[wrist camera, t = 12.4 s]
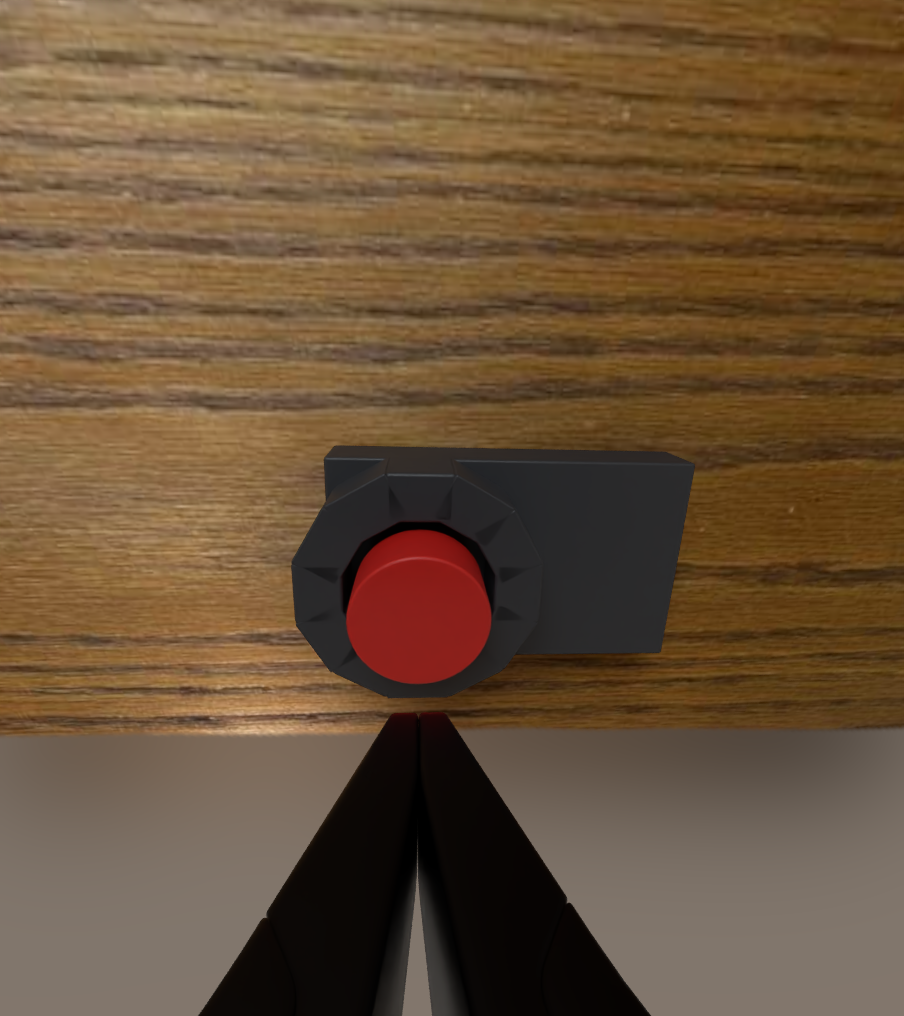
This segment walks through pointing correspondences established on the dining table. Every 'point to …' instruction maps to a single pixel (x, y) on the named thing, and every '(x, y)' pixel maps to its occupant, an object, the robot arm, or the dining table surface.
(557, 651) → the switch block
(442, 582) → the stop button
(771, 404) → the dining table surface
